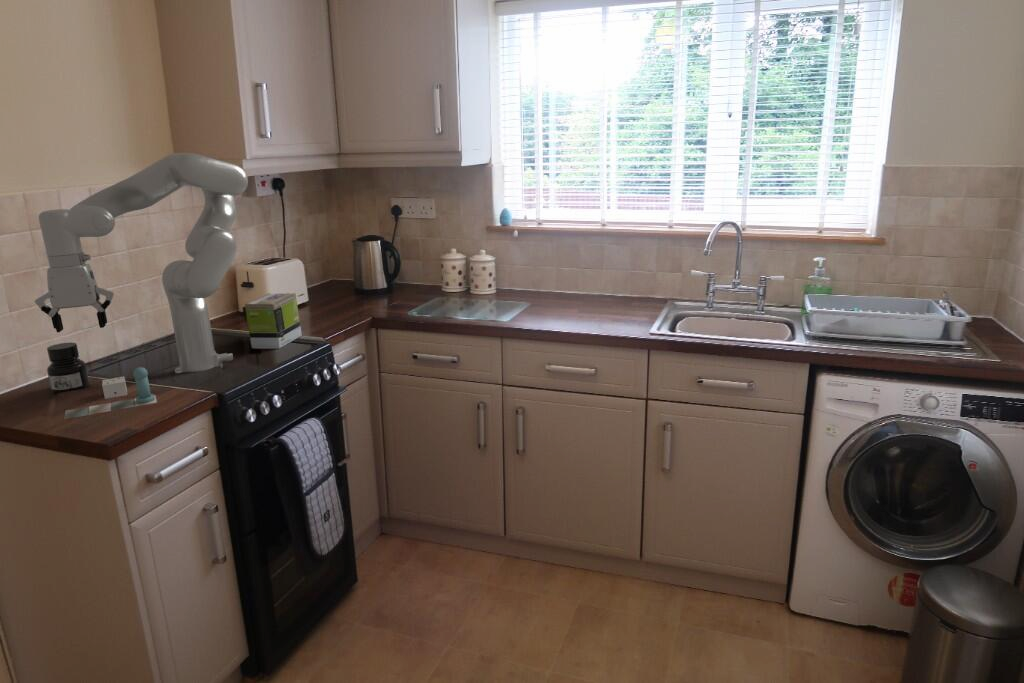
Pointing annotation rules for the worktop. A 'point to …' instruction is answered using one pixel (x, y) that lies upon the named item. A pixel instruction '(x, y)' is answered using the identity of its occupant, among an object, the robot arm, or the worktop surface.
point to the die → (114, 387)
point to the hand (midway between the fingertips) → (81, 328)
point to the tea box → (273, 320)
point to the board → (104, 408)
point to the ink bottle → (66, 368)
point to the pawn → (142, 385)
